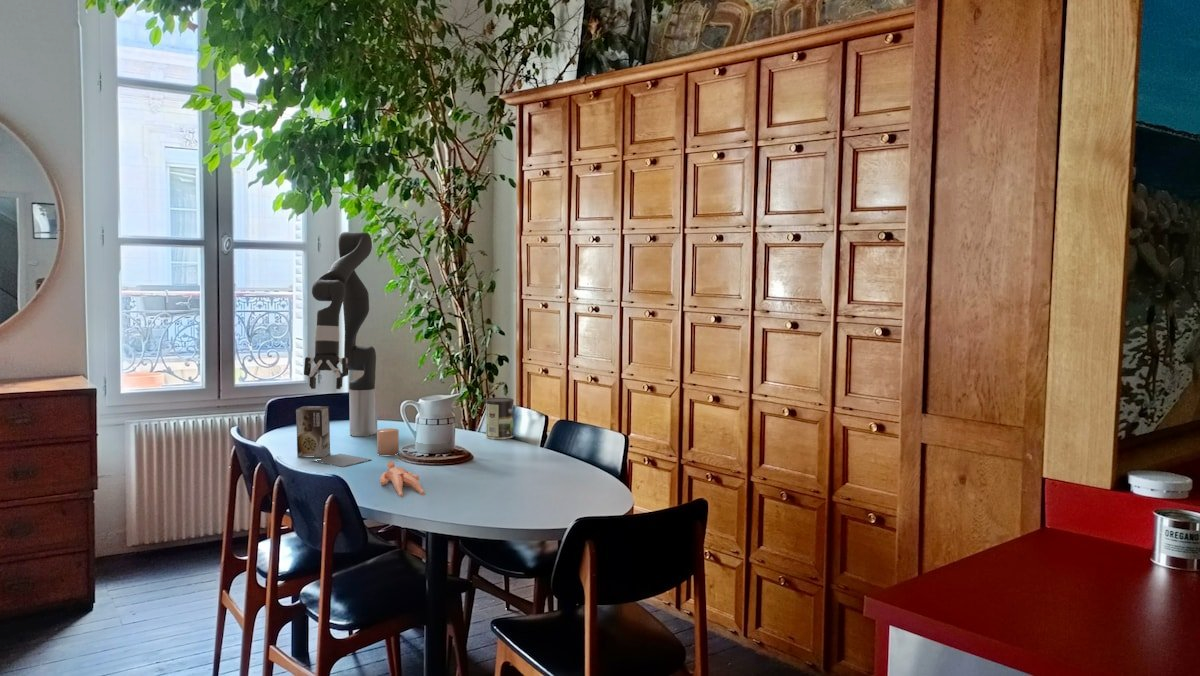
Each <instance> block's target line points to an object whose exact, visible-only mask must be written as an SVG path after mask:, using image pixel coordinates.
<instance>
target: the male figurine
mask: <svg viewBox="0 0 1200 676" xmlns="http://www.w3.org/2000/svg"><path fill="white" fill-rule="evenodd" d="M386 468H388V470H387V471H385V472H383V473H382V474H381V476H380V479H379V483H380V485H381V486H386V485H387V484H388V482H392V486H393V487H394V489H395V492H397V494H398V498H403V497H404V493H403V486H405V487H406V488H409V487H412V488H413V490H415V491H417V492H418V493H419V494H420V496H423V495H426V492H425V491H424V489H423V488H422V485H421V483H420V482H419V480H420V476H419V475H415V474H414V473H412V472H411V471H409V470H408V471H407V470H405V468H403V467H398V466H395V463H394V462H393V461H392V460H390V461H389V462H388V463H387V464H386Z"/></svg>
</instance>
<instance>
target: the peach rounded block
mask: <svg viewBox="0 0 1200 676" xmlns="http://www.w3.org/2000/svg"><path fill="white" fill-rule="evenodd" d="M399 431H400V430H399V429H398V428H393V427H392V428H380V429H377V433H376V435H377V436H376V439H377V440H376V442H377V443H376V446H377V448H376V449H377V450H376V451H377V453H376V454H379V455H378V456H380V455H394V456H396V455H395V454H397V453H398V452H399V453H400V447H399V446H400V443H399V439H400V438H399V437H400V436H399V434H400V433H399ZM397 455H398V454H397Z"/></svg>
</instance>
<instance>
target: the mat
mask: <svg viewBox="0 0 1200 676" xmlns="http://www.w3.org/2000/svg"><path fill="white" fill-rule="evenodd" d="M320 458H321V460H317V461H318V462H317V463H319V462H323V463H322V464H324V463H327V464H326V465H329V464H332V465H331V466H334V465H335V466H334V467H339V466H342V467H341V468H345V467H344V466H346V467H349V466H348V465H350V466H353V465H352V464H354V465H357V464H356V463H358V464H361V463H360V462H362V463H365V462H364V461H367V460H371V459H372V458H367V457H363V456H362V457H361V456H355V455H350V454H345V453H337V454H332V455H327V456H325V457H320ZM371 461H372V460H371ZM367 462H368V461H367Z"/></svg>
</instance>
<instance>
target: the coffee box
mask: <svg viewBox="0 0 1200 676" xmlns="http://www.w3.org/2000/svg"><path fill="white" fill-rule="evenodd" d="M295 414H296V415H295V416H296V417H295V420H296V422H295V424H296V452H297V453H296V454H297V455H296V457H297V456H314V457H313V458H323V457H324V456H325V457H327V456H329V455H330V454H331V434H330V431H331V430H330V425H331V424H330V406H320V405H319V406H316V405H314V406H313V405H311V406H310V405H307V406H306V405H304V406H301V407H298V408H295ZM328 454H329V455H328ZM326 455H327V456H326Z"/></svg>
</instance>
